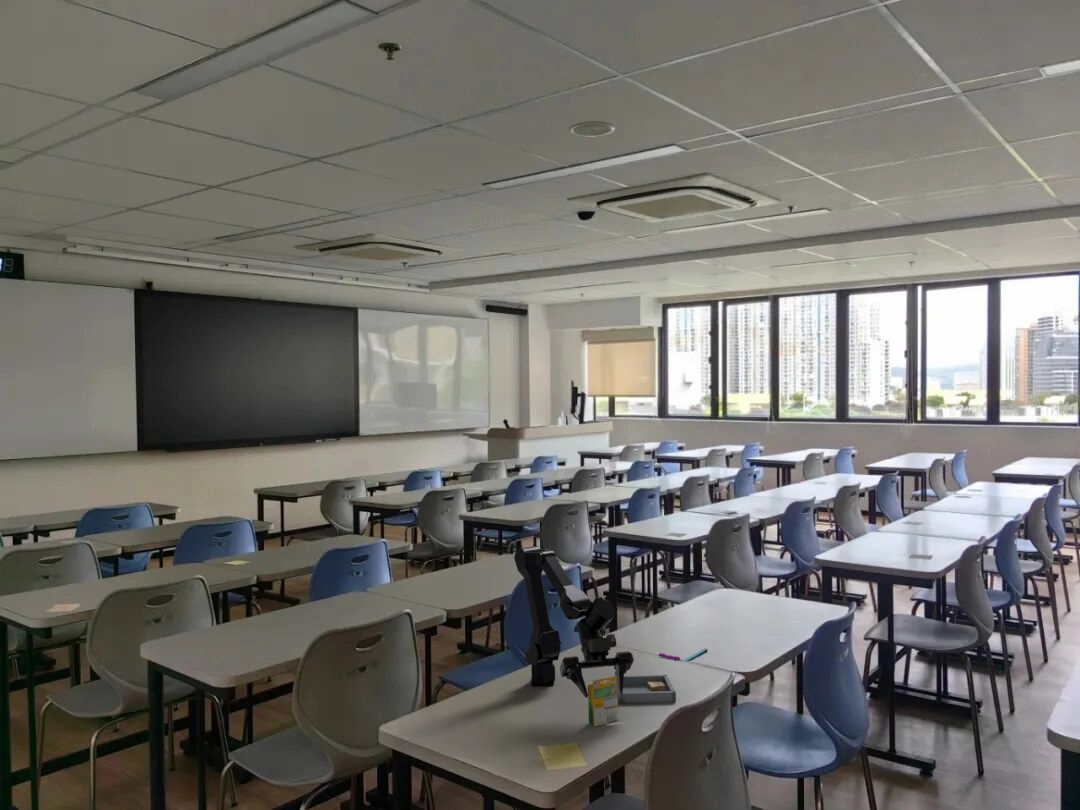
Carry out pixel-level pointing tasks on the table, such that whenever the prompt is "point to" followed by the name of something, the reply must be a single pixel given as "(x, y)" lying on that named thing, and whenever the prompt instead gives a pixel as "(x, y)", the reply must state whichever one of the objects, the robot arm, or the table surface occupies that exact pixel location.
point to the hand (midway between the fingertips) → (604, 695)
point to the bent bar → (683, 659)
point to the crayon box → (603, 701)
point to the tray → (645, 690)
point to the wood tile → (656, 685)
